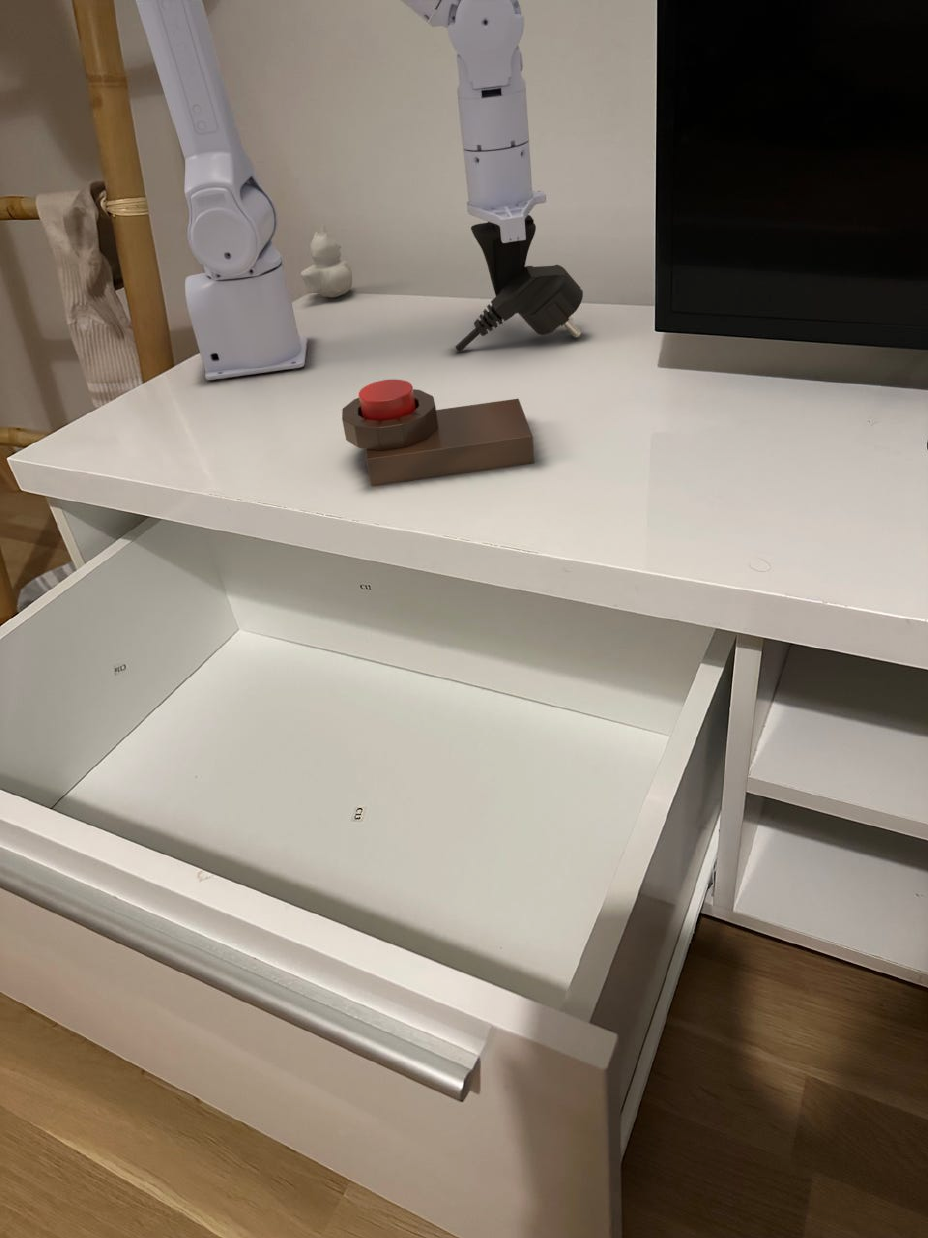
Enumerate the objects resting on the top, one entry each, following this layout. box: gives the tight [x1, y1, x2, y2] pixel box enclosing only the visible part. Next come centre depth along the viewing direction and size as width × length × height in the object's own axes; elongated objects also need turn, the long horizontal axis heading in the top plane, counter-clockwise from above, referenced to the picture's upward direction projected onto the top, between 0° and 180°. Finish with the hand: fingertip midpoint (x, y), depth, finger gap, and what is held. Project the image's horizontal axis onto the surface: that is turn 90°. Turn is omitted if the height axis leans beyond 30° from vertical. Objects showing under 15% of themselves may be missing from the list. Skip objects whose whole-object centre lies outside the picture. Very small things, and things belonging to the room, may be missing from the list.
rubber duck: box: [300, 222, 353, 298], centre depth 103 cm, size 5×7×8 cm
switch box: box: [341, 388, 535, 487], centre depth 69 cm, size 13×8×4 cm, turn 96°
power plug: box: [454, 264, 584, 353], centre depth 87 cm, size 6×8×12 cm
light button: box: [358, 379, 416, 421], centre depth 68 cm, size 4×4×2 cm
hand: (509, 302), depth 87 cm, fingers closed, pressing on power plug
